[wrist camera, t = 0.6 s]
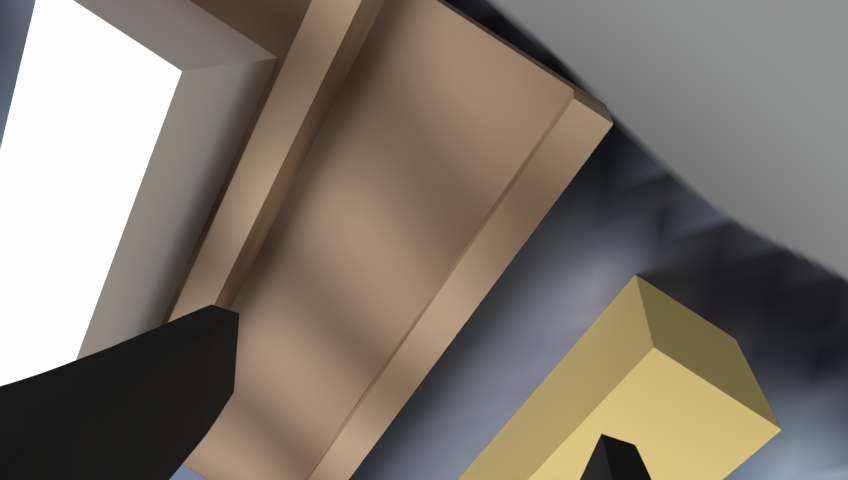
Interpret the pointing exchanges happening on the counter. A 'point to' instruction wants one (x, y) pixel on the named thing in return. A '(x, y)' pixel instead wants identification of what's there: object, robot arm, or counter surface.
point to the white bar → (113, 169)
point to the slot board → (368, 217)
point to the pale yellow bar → (638, 399)
